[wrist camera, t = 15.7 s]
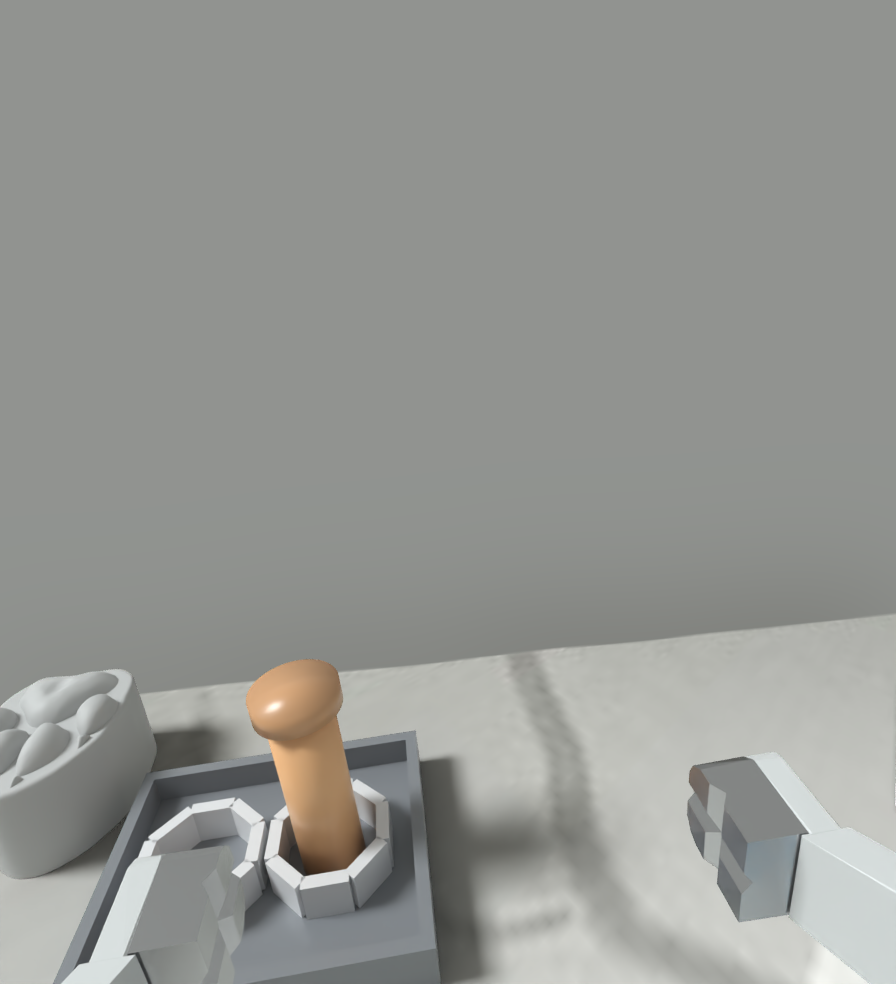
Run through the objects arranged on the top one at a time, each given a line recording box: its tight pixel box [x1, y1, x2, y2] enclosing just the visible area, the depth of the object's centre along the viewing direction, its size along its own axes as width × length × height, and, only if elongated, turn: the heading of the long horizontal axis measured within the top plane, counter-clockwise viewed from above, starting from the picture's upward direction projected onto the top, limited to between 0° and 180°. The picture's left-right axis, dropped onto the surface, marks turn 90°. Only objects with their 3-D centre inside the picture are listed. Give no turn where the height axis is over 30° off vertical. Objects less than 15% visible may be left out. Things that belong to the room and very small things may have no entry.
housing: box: [53, 731, 441, 984], centre depth 39 cm, size 16×20×4 cm
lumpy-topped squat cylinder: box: [0, 669, 157, 879], centre depth 46 cm, size 10×13×9 cm
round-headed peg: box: [246, 659, 366, 876], centre depth 37 cm, size 5×5×13 cm
